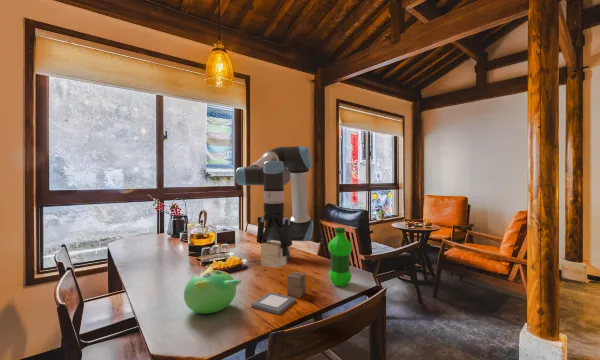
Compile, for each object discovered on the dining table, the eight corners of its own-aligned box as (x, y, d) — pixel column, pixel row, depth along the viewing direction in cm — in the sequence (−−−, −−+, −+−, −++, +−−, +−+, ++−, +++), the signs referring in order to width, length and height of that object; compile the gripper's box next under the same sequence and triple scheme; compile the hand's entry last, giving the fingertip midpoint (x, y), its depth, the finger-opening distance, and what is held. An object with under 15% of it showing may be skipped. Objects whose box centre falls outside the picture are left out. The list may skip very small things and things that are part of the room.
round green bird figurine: (228, 296, 115) (228, 260, 114) (243, 313, 100) (243, 272, 100) (180, 307, 105) (179, 268, 105) (190, 328, 91) (189, 282, 90)
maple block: (271, 260, 112) (271, 240, 112) (287, 263, 109) (286, 242, 109) (261, 265, 106) (260, 244, 106) (276, 268, 103) (276, 246, 103)
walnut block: (294, 290, 121) (294, 271, 120) (305, 292, 118) (305, 273, 118) (287, 295, 116) (287, 275, 116) (299, 298, 113) (299, 277, 113)
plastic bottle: (337, 278, 134) (337, 225, 134) (356, 284, 127) (356, 228, 126) (323, 284, 127) (323, 228, 127) (342, 291, 120) (342, 231, 119)
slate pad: (270, 294, 116) (270, 291, 116) (295, 301, 110) (295, 297, 110) (251, 307, 105) (251, 303, 105) (279, 314, 100) (279, 311, 100)
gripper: (246, 201, 108) (246, 262, 109) (291, 204, 99) (292, 270, 99) (258, 200, 115) (258, 257, 115) (302, 202, 105) (302, 264, 106)
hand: (274, 263), depth 107 cm, fingers closed on maple block, 7 cm apart
